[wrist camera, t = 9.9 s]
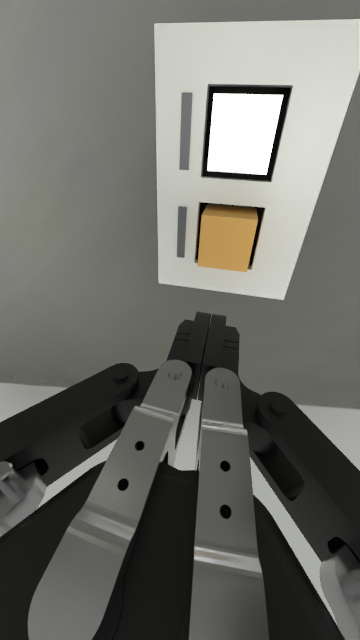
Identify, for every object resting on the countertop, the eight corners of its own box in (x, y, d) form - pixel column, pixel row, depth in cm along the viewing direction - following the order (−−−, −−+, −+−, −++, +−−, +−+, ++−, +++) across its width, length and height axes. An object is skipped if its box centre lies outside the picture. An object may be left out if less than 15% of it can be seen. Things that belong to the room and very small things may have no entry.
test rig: (174, 48, 22) (153, 22, 17) (345, 46, 20) (378, 17, 15) (170, 262, 34) (158, 283, 29) (277, 275, 32) (283, 300, 27)
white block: (219, 100, 21) (213, 93, 18) (276, 102, 21) (283, 94, 17) (212, 166, 24) (206, 171, 21) (263, 169, 24) (266, 174, 20)
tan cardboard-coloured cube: (207, 204, 25) (201, 214, 22) (256, 208, 25) (258, 220, 21) (203, 249, 28) (197, 266, 25) (246, 254, 28) (246, 272, 24)
